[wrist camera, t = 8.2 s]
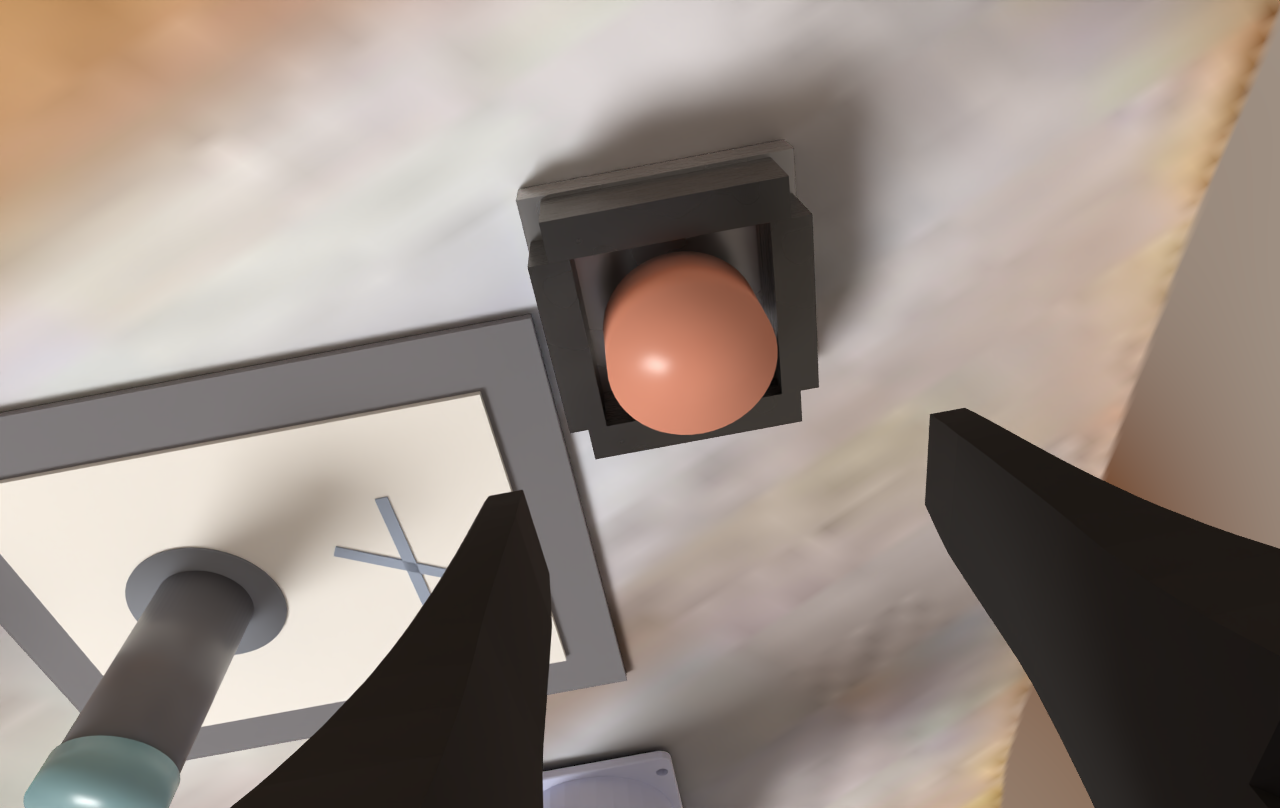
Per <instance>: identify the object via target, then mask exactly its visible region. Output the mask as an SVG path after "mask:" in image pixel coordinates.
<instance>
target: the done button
mask: <svg viewBox="0 0 1280 808" xmlns="http://www.w3.org/2000/svg"><path fill="white" fill-rule="evenodd" d="M603 336H604V345H605V355H606V364H607V373H608V380H609V383H610V386H611V389H612V391H613V394H614V396H615V398H616V399H617V401H618V402H619V404H620V405H621V406H622V408H623V409H624V410H625V411H626V412H627V413H628V414H629V415H630V416H632V417H633V418H634V419H635V420H637V421H638V422H640V423H641V424H643V425H645V426H647V427H649V428H652V429H654V430H657V431H660V432H665V433H670V434H678V435H693V434H701V433H706V432H710V431H714V430H717V429H719V428H722V427H724V426H727V425H729V424H731V423H733V422H734V421H736V420H738V419H739V418H741V417H742V416H743V415H745V414H746V413H747V412H749V411H750V410H751V409H752V408H753V407H754V406H755V405H756V404H757V403H758V402H759V400H760V399H761V398H762V396H763V395H764V394H765V392H766V390H767V389H768V387H769V385H770V383H771V381H772V378H773V376H774V372H775V369H776V364H777V341H776V336H775V333H774V330H773V327H772V325H771V323H770V321H769V319H768V317H767V315H766V314H765V312H764V310H763V308H762V306H761V305H760V303H759V301H758V299H757V297H756V295H755V294H754V292H753V290H752V288H751V286H750V285H749V283H748V282H747V280H746V279H745V278H744V276H743V275H742V274H741V273H740V272H739V271H738V270H737V269H735V268H734V267H733V266H732V265H731V264H729V263H727V262H725V261H724V260H722V259H720V258H717V257H715V256H713V255H709V254H705V253H701V252H694V251H679V252H671V253H667V254H663V255H659V256H657V257H654V258H651V259H649V260H647V261H645V262H644V263H642V264H640V265H639V266H637V267H636V268H634V269H633V270H631V271H630V272H629V273H628V274H627V275H626V276H625V277H624V278H623V279H622V280H621V282H620V283H619V284H618V285H617V287H616V288H615V290H614V291H613V293H612V294H611V297H610V299H609V301H608V303H607V306H606V310H605V313H604V320H603Z"/></svg>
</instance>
